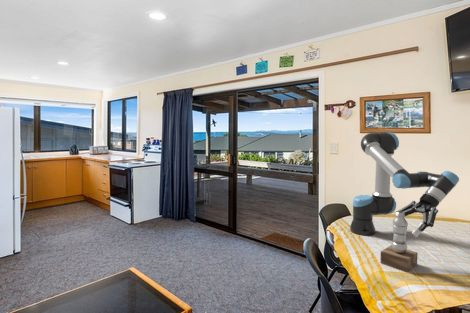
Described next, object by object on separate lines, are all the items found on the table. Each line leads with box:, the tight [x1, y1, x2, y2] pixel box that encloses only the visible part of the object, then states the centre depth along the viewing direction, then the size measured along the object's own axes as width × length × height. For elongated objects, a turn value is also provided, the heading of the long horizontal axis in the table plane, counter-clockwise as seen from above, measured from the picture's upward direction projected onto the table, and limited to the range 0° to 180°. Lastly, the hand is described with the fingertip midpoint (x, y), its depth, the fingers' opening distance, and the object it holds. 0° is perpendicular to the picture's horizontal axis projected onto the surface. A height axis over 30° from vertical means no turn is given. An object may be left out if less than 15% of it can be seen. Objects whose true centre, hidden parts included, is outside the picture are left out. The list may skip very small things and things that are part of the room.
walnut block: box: [380, 244, 419, 273], centre depth 135 cm, size 12×12×6 cm
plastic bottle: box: [391, 210, 409, 253], centre depth 134 cm, size 6×7×20 cm
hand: (403, 230), depth 133 cm, fingers open, 13 cm apart
